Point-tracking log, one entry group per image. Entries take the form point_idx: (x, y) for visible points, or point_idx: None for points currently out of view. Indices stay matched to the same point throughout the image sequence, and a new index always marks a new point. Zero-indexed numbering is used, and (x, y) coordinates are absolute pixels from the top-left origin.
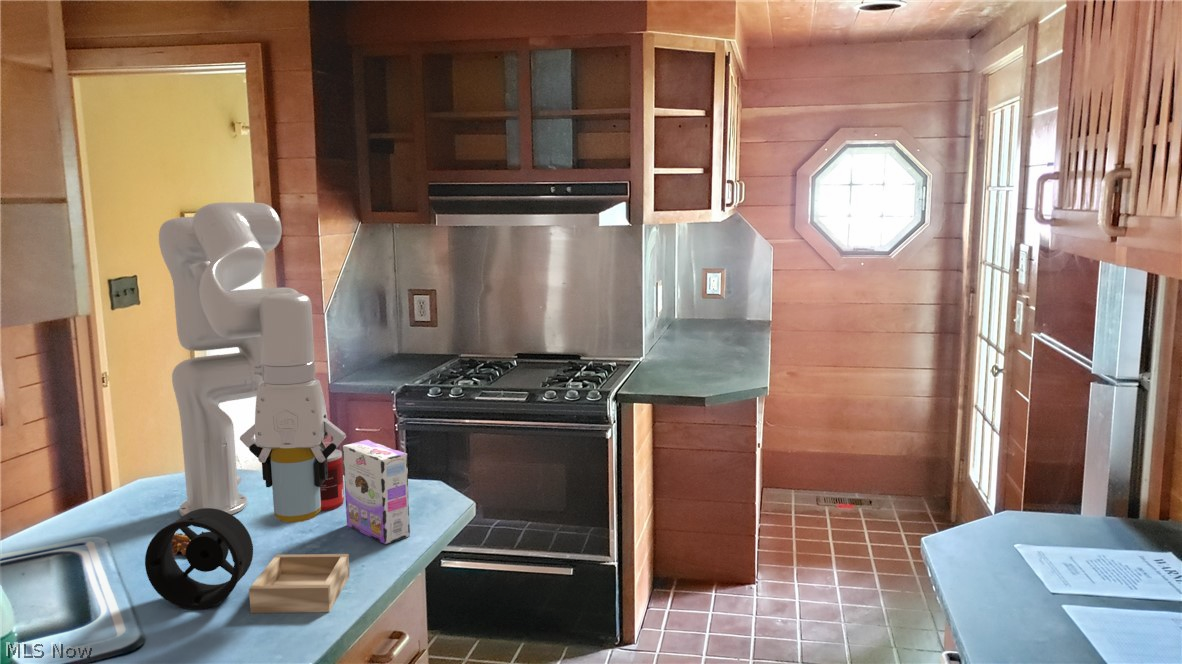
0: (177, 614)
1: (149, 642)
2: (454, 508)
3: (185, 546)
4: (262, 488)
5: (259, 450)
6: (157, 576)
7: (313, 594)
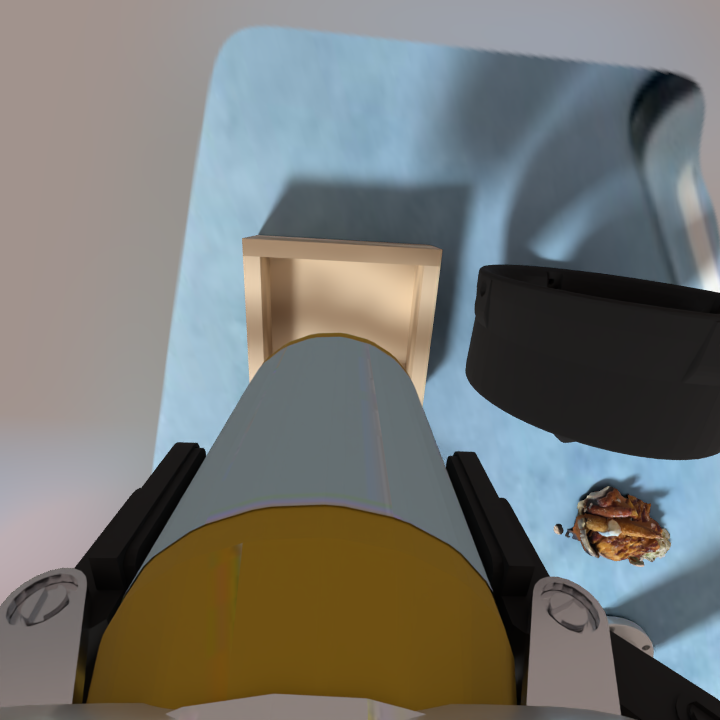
0: (582, 252)
1: (619, 125)
2: None
3: (620, 505)
4: None
5: (637, 707)
6: (679, 299)
7: (283, 239)
